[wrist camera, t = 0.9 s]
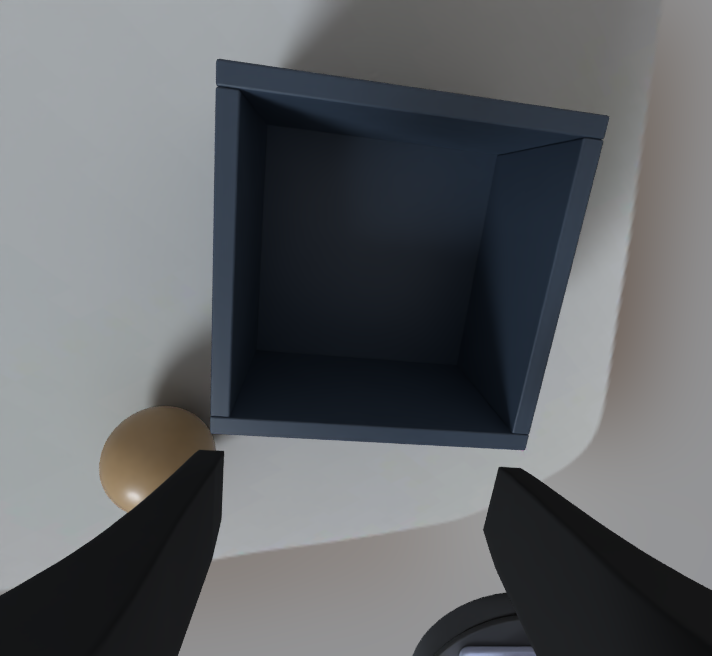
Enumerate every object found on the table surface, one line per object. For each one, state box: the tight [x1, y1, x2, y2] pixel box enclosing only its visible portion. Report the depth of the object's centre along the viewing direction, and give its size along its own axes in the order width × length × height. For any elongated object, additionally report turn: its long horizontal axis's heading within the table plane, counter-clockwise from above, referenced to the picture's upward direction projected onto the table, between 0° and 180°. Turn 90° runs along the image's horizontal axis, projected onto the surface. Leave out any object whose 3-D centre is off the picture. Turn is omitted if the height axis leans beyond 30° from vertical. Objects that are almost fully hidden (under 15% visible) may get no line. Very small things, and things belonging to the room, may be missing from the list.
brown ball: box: [99, 406, 216, 512], centre depth 18 cm, size 4×4×4 cm
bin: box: [210, 59, 609, 450], centre depth 15 cm, size 10×10×6 cm
